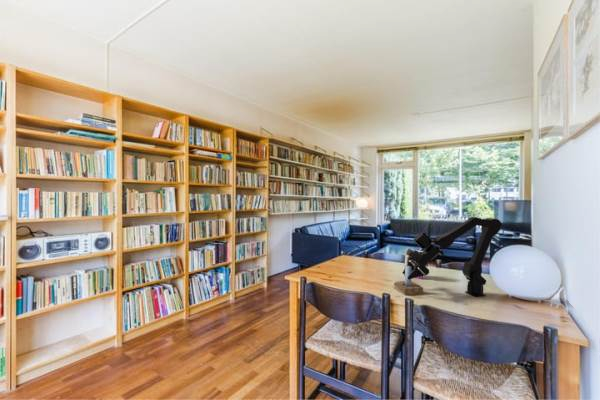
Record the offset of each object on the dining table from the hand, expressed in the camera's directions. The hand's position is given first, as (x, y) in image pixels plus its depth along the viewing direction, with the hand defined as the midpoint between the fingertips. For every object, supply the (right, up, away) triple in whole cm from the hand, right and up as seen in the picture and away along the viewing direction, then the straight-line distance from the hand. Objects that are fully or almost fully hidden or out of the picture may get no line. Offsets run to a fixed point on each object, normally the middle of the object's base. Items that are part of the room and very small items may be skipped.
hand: (405, 276), depth 143 cm
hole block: (+1, -8, 0) cm, 8 cm away
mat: (+6, -8, +12) cm, 16 cm away
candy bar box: (+15, -8, +25) cm, 31 cm away
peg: (+1, -8, 0) cm, 8 cm away
